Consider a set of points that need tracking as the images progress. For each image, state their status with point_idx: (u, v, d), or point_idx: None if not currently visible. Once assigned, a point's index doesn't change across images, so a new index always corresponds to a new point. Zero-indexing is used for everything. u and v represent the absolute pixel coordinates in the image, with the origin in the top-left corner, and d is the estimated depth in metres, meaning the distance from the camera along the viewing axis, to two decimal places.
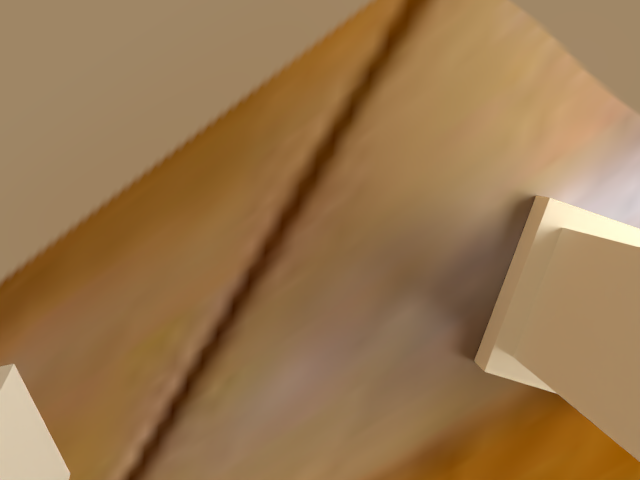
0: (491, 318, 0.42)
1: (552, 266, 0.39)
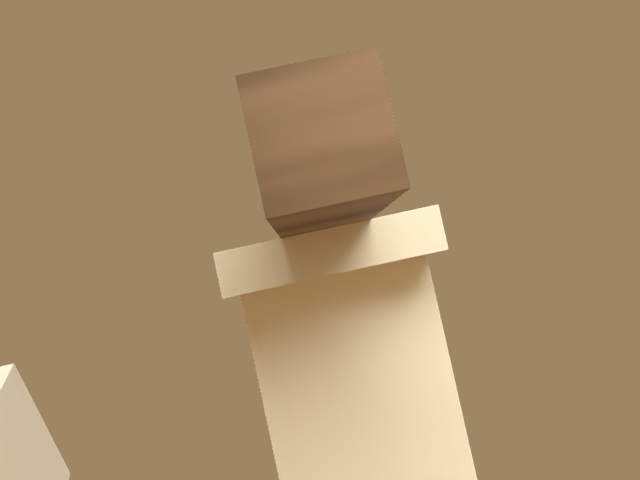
0: None
1: None
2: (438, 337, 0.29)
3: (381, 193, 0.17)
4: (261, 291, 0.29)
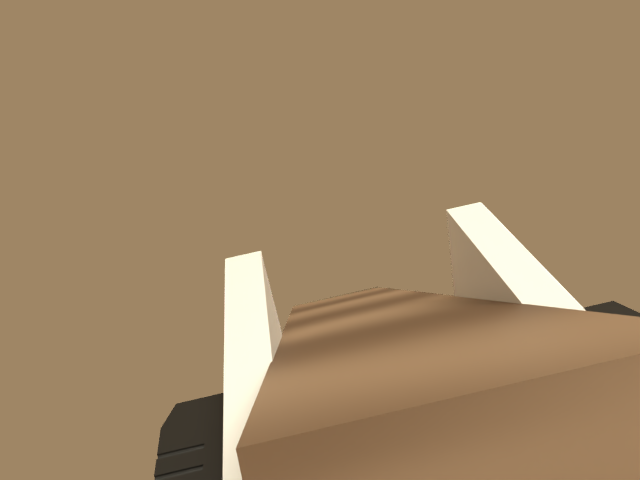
0: None
1: None
2: None
3: None
4: None
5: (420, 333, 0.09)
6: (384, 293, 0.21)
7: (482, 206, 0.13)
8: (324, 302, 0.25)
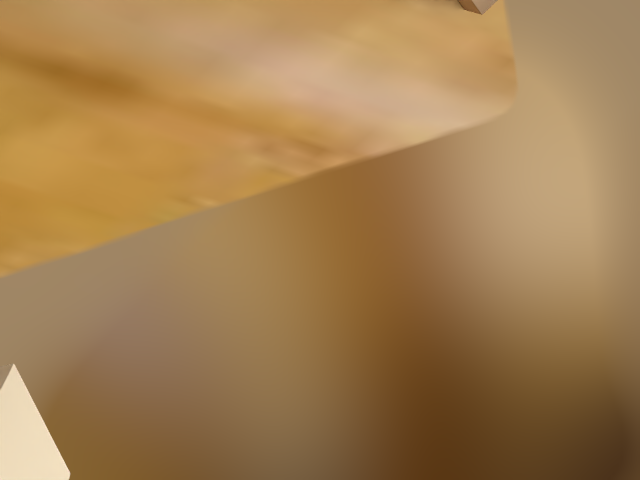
0: None
1: None
2: None
3: None
4: None
5: None
6: None
7: None
8: None
